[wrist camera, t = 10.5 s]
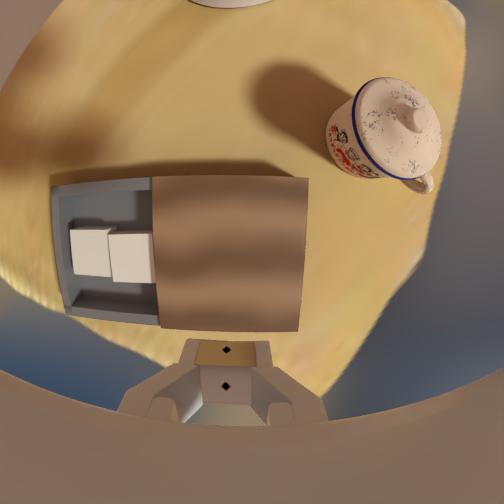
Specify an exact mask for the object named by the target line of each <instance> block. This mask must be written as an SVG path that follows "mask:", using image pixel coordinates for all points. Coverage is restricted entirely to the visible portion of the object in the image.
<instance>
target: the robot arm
mask: <svg viewBox="0 0 504 504" xmlns="http://www.w3.org/2000/svg"><path fill="white" fill-rule="evenodd" d="M191 1H193V2H195V3H198V4H201V5H205V6H211V7H220V8H237V7H247V6H252V5H257V4H261V3H264V2H267V1H269V0H191ZM203 403H206V404H234V405H235V404H236V405H251V407H252V408H253V410H254V411H255V412H256V413H257V414H258V416H259V417H260V418H261V419H262V420H263V422H264V423H265V424H266V425H267V426H218V425H203V424H191V423H185V422H186V421H187V420H188V419H189V418H190V417H191V416H192V415H193V414H194V413H195V412H196V411H197V410H198V409H199V408H200V407H201V406H202V405H203ZM0 504H504V368H502V369H501V370H499V371H497V372H495V373H493V374H491V375H488V376H486V377H484V378H482V379H480V380H477V381H475V382H473V383H471V384H468V385H466V386H463V387H461V388H458V389H456V390H453V391H450V392H448V393H445V394H442V395H439V396H436V397H433V398H430V399H427V400H424V401H421V402H417V403H414V404H411V405H407V406H403V407H400V408H395V409H391V410H387V411H383V412H379V413H374V414H369V415H365V416H359V417H353V418H347V419H342V420H335V421H328V418H327V415H326V411H325V408H324V405H323V402H322V399H321V398H319V397H318V396H317V395H315V394H314V393H312V392H311V391H309V390H308V389H307V388H305V387H304V386H302V385H301V384H300V383H298V382H297V381H296V380H294V379H293V378H292V377H290V376H289V375H288V374H286V373H285V372H284V371H282V370H281V369H280V368H278V367H273V363H272V356H271V350H270V343H269V341H219V340H203V339H187V340H186V342H185V345H184V348H183V351H182V354H181V357H180V360H179V363H174V364H172V365H170V366H169V367H167V368H165V369H164V370H162V371H160V372H159V373H157V374H155V375H153V376H152V377H150V378H148V379H147V380H145V381H143V382H141V383H140V384H138V385H136V386H134V387H133V388H131V389H129V390H127V392H126V394H125V395H124V397H123V400H122V401H121V404H120V406H119V408H118V410H117V411H113V410H109V409H104V408H100V407H97V406H93V405H90V404H86V403H83V402H80V401H76V400H73V399H70V398H67V397H64V396H61V395H58V394H56V393H53V392H50V391H48V390H45V389H42V388H39V387H37V386H35V385H32V384H30V383H28V382H25V381H23V380H21V379H19V378H17V377H14V376H12V375H10V374H8V373H6V372H4V371H2V370H0Z"/></svg>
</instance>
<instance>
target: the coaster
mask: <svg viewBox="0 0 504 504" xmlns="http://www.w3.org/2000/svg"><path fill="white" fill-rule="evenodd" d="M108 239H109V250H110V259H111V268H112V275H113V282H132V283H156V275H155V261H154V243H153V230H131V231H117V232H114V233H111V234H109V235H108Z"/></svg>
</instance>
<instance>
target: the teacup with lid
mask: <svg viewBox="0 0 504 504" xmlns="http://www.w3.org/2000/svg"><path fill="white" fill-rule="evenodd" d="M326 143H327V147H328V150H329V152H330V155H331V156H332V158H333V160H334V161H335V162H336V164H337V165H338V166H339V167H340V168H341V169H342V170H344V171H345V172H346V173H348V174H350V175H352V176H355V177H358V178H363V179H370V178H396V179H399V180H400V181H401V182H402V183H403V184H404V185H405V186H407V187H408V188H410V189H411V190H413V191H415V192H417V193H420V194H428V193H430V192H431V190H432V189H433V187H434V181H433V177H432V175H431V173H430V172H429V170H430V169H431V168H432V167H433V166H434V164H435V163H436V161H437V159H438V156H439V153H440V149H441V129H440V125H439V121H438V118H437V116H436V113H435V111H434V109H433V107H432V106H431V104H430V103H429V101H428V100H427V99H426V98H425V96H424V95H423V94H422V93H421V92H420V91H419V90H417V89H416V88H415V87H413V86H412V85H410V84H409V83H407V82H405V81H402V80H399V79H396V78H390V77H382V78H376V79H373V80H370V81H369V82H367V83H365V84H364V85H363V86H362V87H361V88H360V89H359V91H358V92H357V94H356V95H355V96H354V97H352V98H351V99H350V100H348V101H347V102H346V103H345V104H343V105H342V106H341V107H340V108H338V109H337V110H336V111H335V112H334V113H333V114H332V116H331V117H330V119H329V121H328V124H327V127H326ZM419 177H420V179H421V180H422V182H423V183H421V182H419V181H417V180H415V179H416V178H419Z"/></svg>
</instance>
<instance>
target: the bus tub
mask: <svg viewBox="0 0 504 504" xmlns="http://www.w3.org/2000/svg"><path fill="white" fill-rule="evenodd" d="M51 210H52V228H53V239H54V249H55V257H56V265H57V271H58V278H59V284H60V289H61V294H62V299H63V304H64V308H65V313H66V314H67V315H73V316H79V317H86V318H93V319H100V320H108V321H117V322H125V323H135V324H145V325H157V326H161V324H160V316H159V307H158V297H157V287H156V283H132V282H113V275H112V276H111V277H102V276H90V275H78V274H74V268H73V260H72V250H71V239H70V230H71V229H75V228H78V227H81V226H117V231H131V230H153V212H152V177H143V178H128V179H115V180H104V181H94V182H84V183H76V184H68V185H60V186H53V187H51Z"/></svg>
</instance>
